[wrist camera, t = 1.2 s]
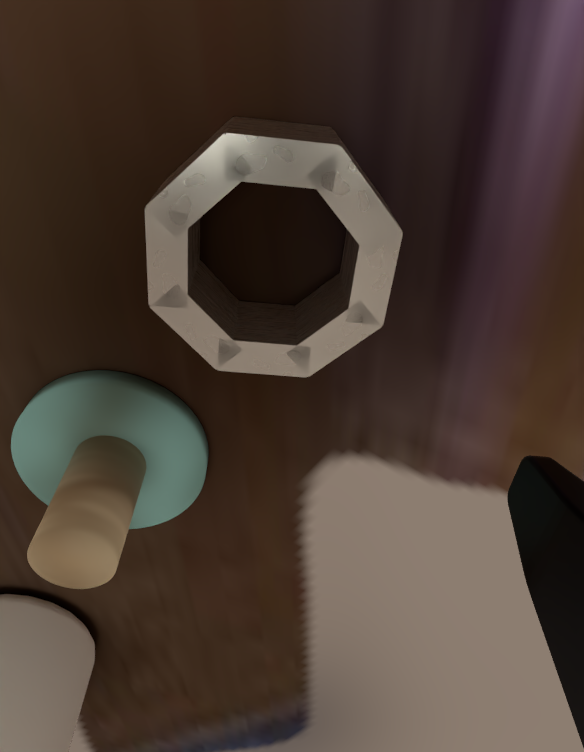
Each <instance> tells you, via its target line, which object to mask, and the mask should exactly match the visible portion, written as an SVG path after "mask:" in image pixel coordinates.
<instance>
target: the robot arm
mask: <svg viewBox="0 0 584 752" xmlns="http://www.w3.org/2000/svg"><path fill="white" fill-rule="evenodd" d="M508 506H509V510H510V514H511V519H512V523H513V527H514V532H515V536H516V540H517V545H518V549H519V554H520V558H521V562H522V566H523V571H524V575H525V578H526V582H527V586H528V588H529V592H530V595H531V598H532V601H533V604H534V607H535V610H536V612H537V615H538V618H539V621H540V624H541V626H542V630H543V632H544V635H545V638H546V641H547V644H548V647H549V650H550V652H551V656H552V658H553V661H554V664H555V667H556V670H557V673H558V676H559V678H560V681H561V684H562V687H563V690H564V693H565V696H566V699H567V702H568V704H569V707H570V710H571V712H572V716H573V719H574V721H575V724H576V727H577V730H578V733H579V736H580V739H581V742H582V745H583V747H584V481H582V480H581V479H580V478H578V477H577V476H575V475H574V474H573V473H571V472H570V471H568V470H567V469H566V468H564V467H563V466H562V465H560V464H559V463H557V462H556V461H555V460H553V459H552V458H549V457H542V456H526V457H524V458H523V459H522V461H521V463H520V465H519V467H518V470H517V472H516V474H515V476H514V479H513V481H512V483H511V486H510V488H509V491H508Z"/></svg>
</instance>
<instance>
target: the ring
mask: <svg viewBox="0 0 584 752" xmlns="http://www.w3.org/2000/svg"><path fill="white" fill-rule="evenodd" d="M240 182H251V183H261V184H271V185H281V186H290V187H300V188H310V189H317V191H318V192H319V193H320V195H321V196H322V197H323V199H324V200H325V201H326V202H327V204H328V205H329V206H330V208H331V209H332V210H333V211H334V213H335V214H336V215H337V217H338V218H339V219H340V221H341V222H342V223H343V224H344V226H345V227H346V228H347V230H346V237H345V243H344V249H343V256H342V262H341V268H340V273H338V274H337V275H336V276H334V277H333V278H332V279H330V280H329V281H327V282H326V283H325V284H323V285H322V286H321V287H319V288H318V289H317V290H315V291H314V292H313V293H311V294H310V295H309V296H307V297H306V298H305V299H303V300H302V301H301V302H299V303H298V304H297V305H295V306H292V305H281V304H269V303H258V302H246V301H239V300H238V299H237V298H236V297H235V296H234V295H233V294H232V293H231V292H230V291H229V290H228V289H227V288H226V287H225V285H224V284H223V283H222V282H221V281H220V280H219V279H218V278H217V277H216V276H215V275H214V274H213V273H212V272H211V271H210V270H209V269H208V268H207V267H206V266H205V265H204V263H203V262H202V261H201V260H200V217H202V216H203V215H204V214H205V213H206V212H207V211H208V210H210V209H211V208H212V207H213V206H214V205H215V204H216V203H218V202H219V201H220V200H221V199H222V198H223V197H224V196H226V195H227V194H228V193H229V192H230V191H231V190H232V189H233V188H235V187H236V186H237V185H238V184H239V183H240ZM145 230H146V255H147V279H148V303H149V305H150V308H151V309H152V310H153V311H154V312H155V313H156V314H157V315H158V316H159V317H161V318H162V319H163V320H164V321H165V322H166V323H167V324H168V325H169V326H170V327H171V328H172V329H173V330H174V331H175V332H176V333H177V334H179V335H180V336H181V337H182V338H183V339H184V340H185V341H186V342H187V343H188V344H189V345H190V346H191V347H192V348H193V349H194V350H195V351H197V352H198V353H199V354H200V355H201V356H202V357H203V358H204V359H205V360H206V361H207V362H208V363H209V364H210V365H211V366H212V367H213V368H215V369H216V370H217V369H218V371H229V372H242V373H255V374H268V375H280V376H293V377H306V378H307V376H308V377H309V376H311V375H312V374H314V373H315V372H317V371H318V370H320V369H321V368H323V367H324V366H325V365H327V364H328V363H330V362H331V361H333V360H334V359H336V358H337V357H339V356H340V355H342V354H343V353H344V352H346V351H347V350H349V349H350V348H352V347H353V346H355V345H356V344H358V343H359V342H361V341H362V340H363V339H365V338H366V337H368V336H369V335H371V334H372V333H374V332H375V331H377V330H378V329H380V328H381V327H382V325H383V324H384V319H385V315H386V310H387V305H388V301H389V296H390V291H391V287H392V282H393V277H394V273H395V268H396V264H397V259H398V254H399V250H400V245H401V240H402V236H403V233H402V232H403V231H402V230H401V228H400V226H399V224H398V223H397V221H396V219H395V218H394V216H393V214H392V212H391V211H390V209H389V207H388V205H387V204H386V202H385V201H384V199H383V198H382V197H381V195H380V194H379V192H378V191H377V190H376V188H375V187H374V185H373V184H372V183H371V181H370V180H369V178H368V177H367V176H366V174H365V173H364V171H363V170H362V169H361V167H360V166H359V164H358V163H357V162H356V160H355V159H354V157H353V156H352V155H351V153H350V152H349V150H348V149H347V148H346V146H345V145H344V143H343V142H342V141H341V139H340V138H339V136H338V135H337V134H336V132H335V131H334V129H333V128H331V127H328V126H319V125H310V124H300V123H291V122H282V121H273V120H264V119H255V118H246V117H236V116H234V118H233V117H232V118H231V119H230V120H229V121H228V122H226V123H225V124H224V125H223V126H222V127H221V128H220V129H219V130H218V131H217V132H216V133H215V134H214V135H213V136H212V137H210V138H209V139H208V140H207V141H206V142H205V143H204V144H203V145H202V146H201V147H200V148H199V149H198V150H197V151H196V152H194V153H193V154H192V155H191V156H190V157H189V158H188V159H187V160H186V161H185V162H184V163H183V164H182V165H181V166H180V167H178V168H177V169H176V170H175V171H174V172H173V173H172V174H171V175H170V176H169V177H168V178H167V179H166V180H165V181H164V182H163V183H162V185H161V186H160V187H159V189H158V190H157V191H156V193H155V194H154V195H153V197H152V198H151V200H150V201H149V202H148V204H147V205H146V206H145Z"/></svg>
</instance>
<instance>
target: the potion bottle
mask: <svg viewBox="0 0 584 752" xmlns="http://www.w3.org/2000/svg"><path fill="white" fill-rule="evenodd" d="M94 662H95V643H94V640H93V638H92V637H91V635H90V633H89V631H88V629H87V628H86V626H85V625H84V624H83V623H82V622H81V621H80V620H79V619H78V618H77V617H76V616H74V615H73V614H72V613H71V612H69V611H68V610H66V609H64V608H62V607H60V606H58V605H56V604H54V603H52V602H49V601H45V600H42V599H38V598H35V597H31V596H23V595H13V594H1V595H0V752H68V751H69V748H70V744H71V741H72V737H73V734H74V731H75V727H76V724H77V720H78V717H79V713H80V710H81V707H82V703H83V700H84V696H85V693H86V689H87V686H88V683H89V679H90V676H91V672H92V669H93V665H94Z"/></svg>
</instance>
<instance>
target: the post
mask: <svg viewBox="0 0 584 752" xmlns="http://www.w3.org/2000/svg"><path fill="white" fill-rule="evenodd" d="M11 451H12V458H13V461H14V464H15V467H16V469H17V471H18V473H19V475H20V477H21V478H22V480H23V481H24V483H25V484H26V485H27V487H28V488H29V489H30V490H31V491H32V492H33V493H34V494H35V495H36V496H37V497H38V498H39V499H40V500H41V501H43V502H44V503H45V504H47V505H48V508H47V510H46V512H45V514H44V517H43V519H42V521H41V523H40V525H39V527H38V529H37V531H36V533H35V535H34V537H33V539H32V542H31V544H30V546H29V548H28V551H27V558H28V562H29V564H30V566H31V567H32V569H33V570H34V571H35V572H36V573H37V574H38V575H39V576H41V577H42V578H44V579H45V580H47V581H49V582H51V583H53V584H56V585H59V586H62V587H67V588H74V589H87V588H94V587H97V586H100V585H103V584H104V583H106V582H108V581H109V580H110V579H111V578H112V577H113V576H114V574H115V572H116V569H117V566H118V563H119V559H120V556H121V553H122V549H123V546H124V543H125V539H126V536H127V533H128V529H137V528H144V527H150V526H153V525H157V524H160V523H163V522H165V521H168V520H170V519H172V518H174V517H176V516H177V515H179V514H180V513H182V512H183V511H184V510H186V509H187V508H188V507H189V506H190V505H191V504H192V503H193V502H194V501H195V499H196V498H197V496H198V495H199V493H200V491H201V489H202V487H203V484H204V480H205V476H206V470H207V464H208V455H209V452H208V442H207V438H206V434H205V432H204V430H203V427H202V425H201V423H200V422H199V420H198V418H197V417H196V415H195V414H194V413H193V412H192V410H191V409H190V408H189V407H188V406H187V405H186V404H185V403H184V402H183V401H182V400H181V399H180V398H178V397H177V396H176V395H175V394H173V393H172V392H170V391H169V390H167V389H166V388H164V387H162V386H161V385H159V384H156V383H154V382H152V381H150V380H148V379H145V378H142V377H139V376H136V375H132V374H128V373H124V372H117V371H110V370H93V371H82V372H78V373H73V374H69V375H66V376H63V377H61V378H58V379H56V380H54V381H52V382H50V383H49V384H47V385H46V386H45V387H43V388H42V389H40V390H39V391H38V392H37V393H36V394H35V395H34V396H33V398H32V399H31V401H30V402H29V403H28V405H27V406H26V408H25V409H24V411H23V412H22V414H21V415H20V417H19V418H18V420H17V422H16V424H15V427H14V429H13V433H12V438H11Z"/></svg>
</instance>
